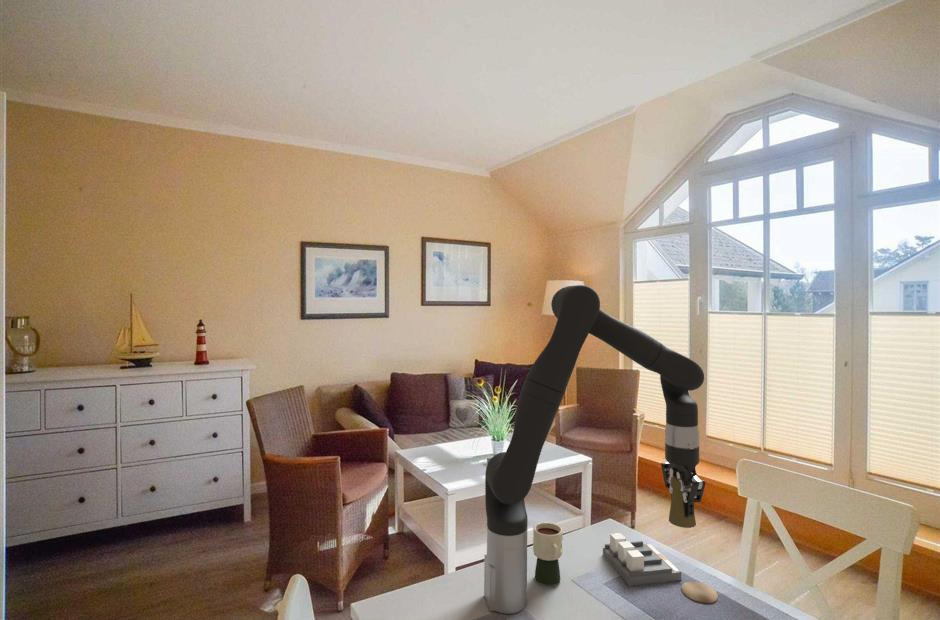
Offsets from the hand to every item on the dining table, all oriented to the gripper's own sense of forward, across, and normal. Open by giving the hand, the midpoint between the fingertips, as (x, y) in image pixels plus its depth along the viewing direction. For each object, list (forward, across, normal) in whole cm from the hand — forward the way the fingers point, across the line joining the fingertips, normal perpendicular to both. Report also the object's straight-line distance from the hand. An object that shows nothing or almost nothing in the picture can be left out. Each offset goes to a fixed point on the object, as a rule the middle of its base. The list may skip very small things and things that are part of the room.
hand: (682, 512), depth 113 cm
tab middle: (+16, -10, -9) cm, 21 cm away
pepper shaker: (+2, 0, 0) cm, 2 cm away
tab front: (+16, -5, -9) cm, 19 cm away
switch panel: (+18, -10, -5) cm, 21 cm away
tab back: (+16, -14, -9) cm, 23 cm away
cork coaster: (+18, +3, +2) cm, 19 cm away
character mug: (+18, -8, -31) cm, 37 cm away
